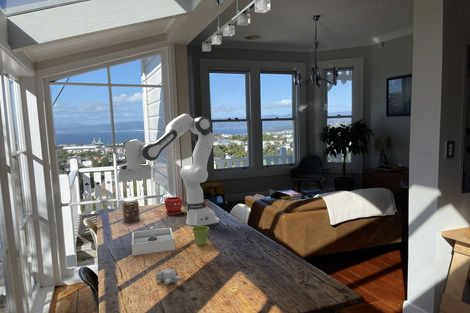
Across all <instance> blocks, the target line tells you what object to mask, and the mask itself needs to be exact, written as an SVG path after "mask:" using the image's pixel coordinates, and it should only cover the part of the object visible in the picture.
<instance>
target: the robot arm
mask: <svg viewBox="0 0 470 313" xmlns="http://www.w3.org/2000/svg"><path fill="white" fill-rule="evenodd" d="M187 131H189V132H190V133H192V134H193V135H195V136H196V135H197V138H198V139H197V141H196V144H195V147H194V149H193V152H192V164H187V165H184V166H182V167H181V169H180V171H179V174H180V177H181V178H182V180H183V181H182V182H183V184H184V188H185V192H186V206H185V207H186V211H187V212H186V214H187V215H186V222H185V224H186V225H187V226H188V225H189V226H195V227H198V226H207V225H213V224H218V223H219V222H220V218H218V217H217V216H216V212H215V211H214V210H212V209H211V208H209V207H208V206H209V203H208V202H206V201H204V191H203V188H202V186H201V183H205V182H206V181H207V180H208V177H209V173H208V161H209V158H210V155H211V153H212V149H213V147H214V144H215V135H214V134H213V133H212V122H211V119H209V118H208V117H205V116H199V117H196V118H192V116H191V115H190V114H188V113H182V114H181V115H179V116H177V117H176V118H173V120H171V122H169V123H168V124H167V125H166V127H165V133H164V134H163V135H162V136H161V137H160V138H159V139H157V141H155V142H154V143H151V144H150V143H146V142H143V141H141V140H139V139H138V138H135V139H134V138H133V139H130V140H128V141H126V143H125V157H126V163H124V164H120V165H119V168H118V169H119V171H118V174H117V180H118V182H119V183H120V182H124V184H125V186H126V189H129V188H130V185H129V184H128V182H133V181H143V183H141V187H142V188H145V184H146V182H147V180H151V179H152V172H151V171H152V165H150V164H142V159H145V160H147V161H149V162H153V161H155V160H157V159H158V158H159V156H161V153H162V151H164V149H165V148H167V146H169V145H170V144H171V143H173V141H175V140H176V139H178V138H179V137H181V136H183V134H186V132H187Z"/></svg>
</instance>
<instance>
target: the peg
mask: <svg viewBox="0 0 470 313" xmlns="http://www.w3.org/2000/svg"><path fill="white" fill-rule="evenodd" d="M155 227H156V226H155V225H151V226H149V227H148V230H149V234H150V241H151V240H156V237H155V229H156V228H155Z"/></svg>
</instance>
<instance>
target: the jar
mask: <svg viewBox="0 0 470 313" xmlns="http://www.w3.org/2000/svg"><path fill="white" fill-rule="evenodd" d="M121 205H122V207H121V208H122V220H123V222H124V221H125V223H133V222H137V220H138V221H139V220H140V219H141V218H140V217H141V216H140V206H139V205H140V204H139V201H138V200H137V199H136V198H135V197H131V198H125V199H124V200H123V202H122V203H121Z"/></svg>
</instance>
